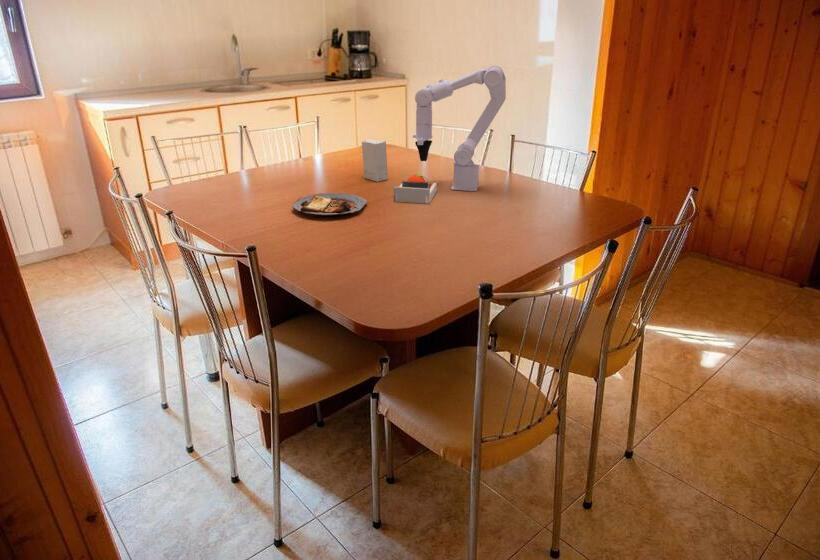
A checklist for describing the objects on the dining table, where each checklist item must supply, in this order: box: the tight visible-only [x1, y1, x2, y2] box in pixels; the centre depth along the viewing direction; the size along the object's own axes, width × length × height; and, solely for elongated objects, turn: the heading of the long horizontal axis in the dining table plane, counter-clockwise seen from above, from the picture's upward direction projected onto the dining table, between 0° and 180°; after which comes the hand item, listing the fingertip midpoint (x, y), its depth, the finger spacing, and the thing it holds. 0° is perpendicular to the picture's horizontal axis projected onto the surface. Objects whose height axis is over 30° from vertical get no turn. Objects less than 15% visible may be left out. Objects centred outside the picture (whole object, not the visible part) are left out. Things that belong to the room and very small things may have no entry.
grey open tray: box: [393, 182, 438, 205], centre depth 208 cm, size 12×16×5 cm
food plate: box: [291, 192, 368, 217], centre depth 195 cm, size 25×23×4 cm
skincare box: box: [361, 138, 389, 182], centre depth 227 cm, size 8×6×15 cm
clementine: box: [406, 174, 429, 182], centre depth 210 cm, size 8×7×7 cm
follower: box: [401, 180, 430, 189], centre depth 207 cm, size 9×1×5 cm, turn 78°
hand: (423, 160), depth 218 cm, fingers closed
